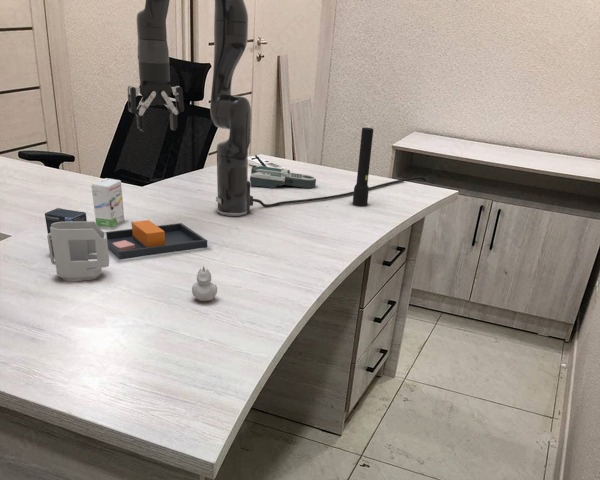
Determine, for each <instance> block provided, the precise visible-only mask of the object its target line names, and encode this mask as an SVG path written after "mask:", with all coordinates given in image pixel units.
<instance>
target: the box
mask: <svg viewBox="0 0 600 480" xmlns="http://www.w3.org/2000/svg"><path fill="white" fill-rule="evenodd" d="M44 218H45V225H46V231H47V235H48V234H49V233H50V232H51V231H50V227H51V224H53V223H56V222H83V221H88V220H87V212H86V211H80V210H79V211H78V210H72V209H66V208H61V207H56V208H54V209H51V210H49V211H47V212H45V213H44ZM50 240H51V246H52V252H53V245H52V239H51V236H50ZM53 257H54V252H53Z"/></svg>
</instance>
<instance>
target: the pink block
mask: <svg viewBox="0 0 600 480" xmlns="http://www.w3.org/2000/svg"><path fill="white" fill-rule="evenodd" d="M113 244H114V245H115V246H116V247H117V248H118V249H120V250H121V251H124V250H129V249H134V248H135V244H133V243H130V242H128V241H126V240H123V241H119V242H114V243H113Z"/></svg>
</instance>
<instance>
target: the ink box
mask: <svg viewBox="0 0 600 480" xmlns="http://www.w3.org/2000/svg"><path fill="white" fill-rule="evenodd" d="M122 186H123V185H122V180H120V179H114V178H108V177H105V178H102V179H100V180H97V181H95V182H93V183H92V184H91V185H90V187H91V194H92V202H93V212H94V218H95V223H96V224H97V225H98V227H105V228H113V227H114V226H116V225H118V224H122V223H124V222H125V219H126V218H125V210H124V209H125V208H124V199H123V198H124V197H123V187H122Z"/></svg>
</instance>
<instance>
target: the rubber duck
mask: <svg viewBox="0 0 600 480" xmlns="http://www.w3.org/2000/svg"><path fill="white" fill-rule="evenodd" d="M191 293H192V295H193V296H194V297H195V299H196V300H198V301H200V302H210V301H212V300H213V299H214V298H215V297H216V296H217V294H218V286H217V284H215V283H213V282H212V273H211V271H210V270H209V269H208V268H207V269H206V268H205V265H202V268H199V270H198V271H197V274H196V282H194V283H193V284H192V286H191Z"/></svg>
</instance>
